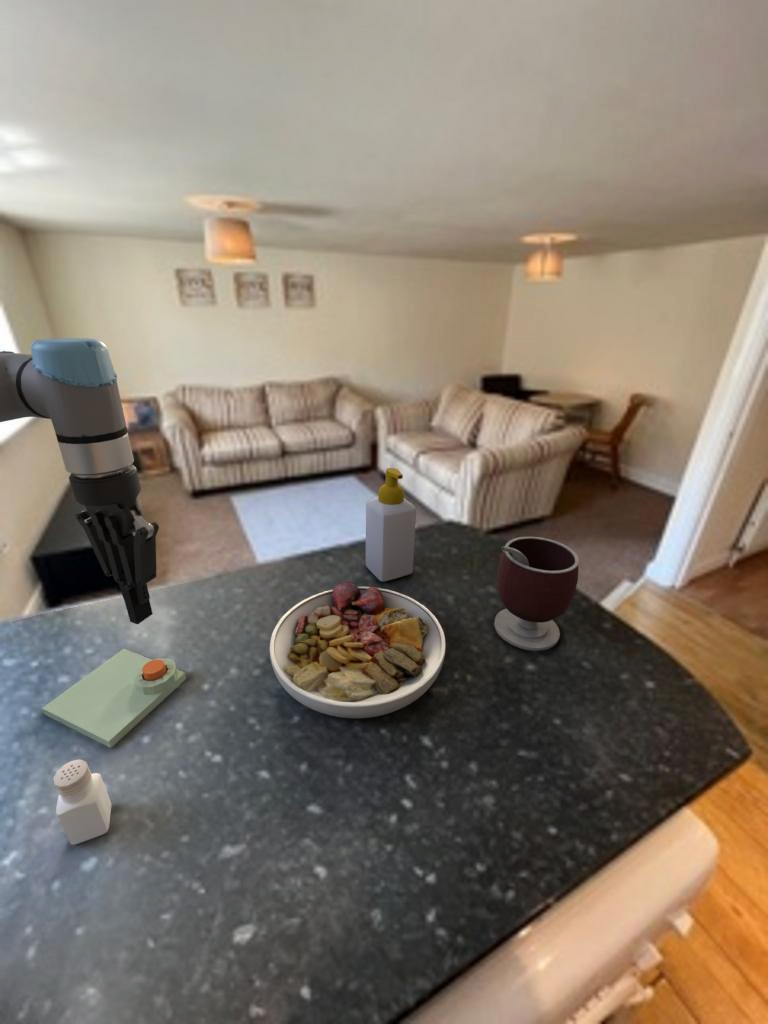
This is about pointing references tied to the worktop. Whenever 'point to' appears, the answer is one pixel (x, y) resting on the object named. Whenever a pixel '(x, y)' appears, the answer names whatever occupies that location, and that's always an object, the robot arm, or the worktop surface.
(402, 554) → the soap bottle
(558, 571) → the mate gourd
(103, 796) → the pepper shaker
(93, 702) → the scale
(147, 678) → the button
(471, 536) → the worktop surface
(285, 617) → the bowl
